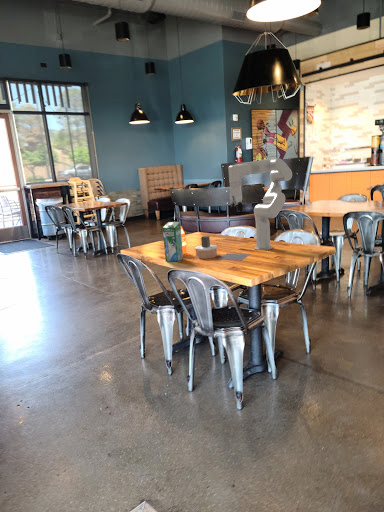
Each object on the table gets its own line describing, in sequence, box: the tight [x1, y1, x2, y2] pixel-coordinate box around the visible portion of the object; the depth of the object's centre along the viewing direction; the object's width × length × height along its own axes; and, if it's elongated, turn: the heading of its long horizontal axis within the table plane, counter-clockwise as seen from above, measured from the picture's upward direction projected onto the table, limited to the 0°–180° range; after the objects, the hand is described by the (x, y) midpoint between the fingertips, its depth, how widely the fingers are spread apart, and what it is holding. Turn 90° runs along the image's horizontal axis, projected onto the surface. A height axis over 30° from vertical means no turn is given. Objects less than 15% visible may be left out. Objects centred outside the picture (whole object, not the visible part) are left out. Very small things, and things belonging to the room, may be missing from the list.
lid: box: [194, 235, 218, 251], centre depth 256 cm, size 15×15×8 cm
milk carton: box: [162, 221, 184, 262], centre depth 254 cm, size 9×9×25 cm
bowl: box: [195, 249, 218, 260], centre depth 258 cm, size 13×13×6 cm
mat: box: [217, 252, 252, 262], centre depth 251 cm, size 17×17×1 cm
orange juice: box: [181, 225, 187, 255], centre depth 272 cm, size 8×9×20 cm
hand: (237, 211), depth 250 cm, fingers open, 9 cm apart
